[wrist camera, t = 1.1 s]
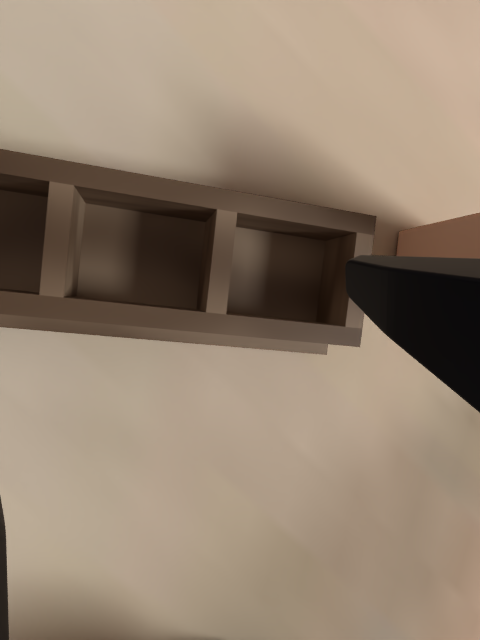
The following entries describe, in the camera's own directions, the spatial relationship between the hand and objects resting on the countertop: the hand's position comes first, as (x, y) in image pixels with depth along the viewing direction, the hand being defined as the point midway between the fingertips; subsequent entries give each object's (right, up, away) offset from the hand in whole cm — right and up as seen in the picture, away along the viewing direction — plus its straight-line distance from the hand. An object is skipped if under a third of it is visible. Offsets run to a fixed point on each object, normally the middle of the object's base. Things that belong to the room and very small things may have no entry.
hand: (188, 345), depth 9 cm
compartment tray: (-4, +4, +15) cm, 16 cm away
